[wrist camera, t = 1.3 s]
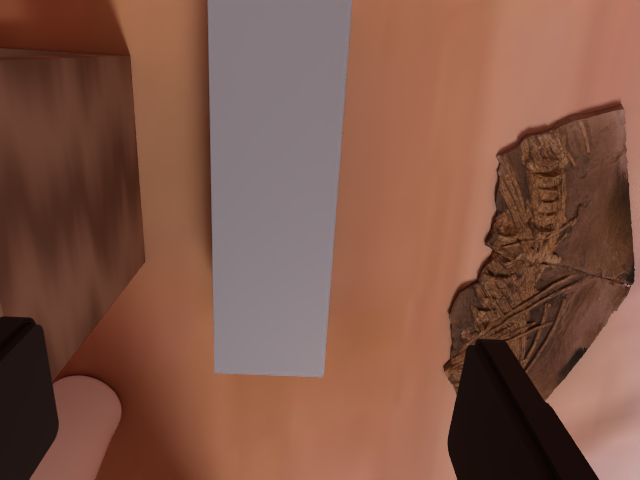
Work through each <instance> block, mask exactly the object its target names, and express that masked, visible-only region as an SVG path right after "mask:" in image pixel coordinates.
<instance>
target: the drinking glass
mask: <svg viewBox="0 0 640 480" xmlns="http://www.w3.org/2000/svg"><path fill="white" fill-rule="evenodd" d="M53 390H54V396H55V402H56V408H57V414H58V420H59V429H58V433H57V436H56V438H55V440H54V442H53V444H52V445H51V447H50V448H49V450H48V451H47V453H46V454H45V456H44V458H43V459H42V461H41V462H40V464H39V465H38V467H37V469H36V470H35V472H34V473H33V475H32V476H31V478H30V479H29V480H95V479H96V477H97V474H98V472H99V469H100V466H101V464H102V461H103V459H104V456H105V454H106V451H107V449H108V446H109V444H110V441H111V439H112V437H113V435H114V433H115V431H116V429H117V427H118V425H119V423H120V420H121V414H122V409H121V403H120V401H119V398H118V396H117V395H116V393H115V392H114V391H113V390H112V389H111V388H110V387H109V386H108V385H107V384H105V383H104V382H102V381H100V380H98V379H95V378H92V377H88V376H80V375H76V376H69V377H65V378H62V379H60V380H58V381H56V382H54V383H53Z"/></svg>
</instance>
